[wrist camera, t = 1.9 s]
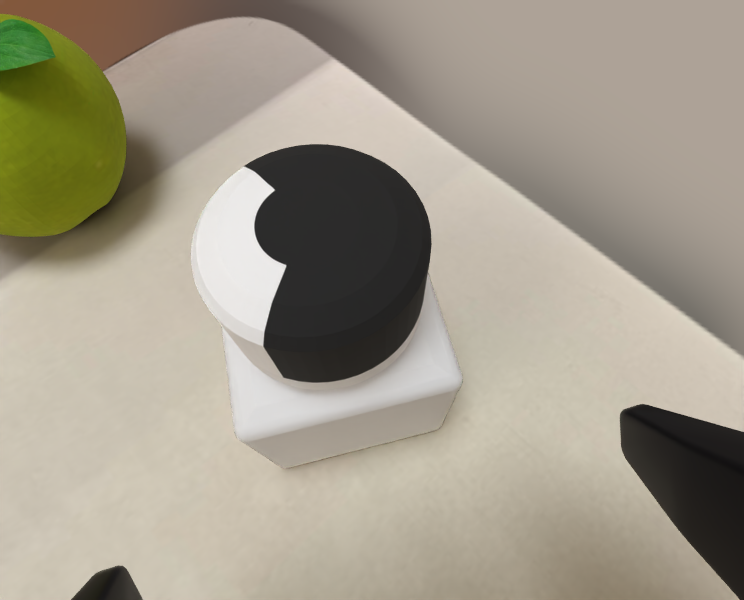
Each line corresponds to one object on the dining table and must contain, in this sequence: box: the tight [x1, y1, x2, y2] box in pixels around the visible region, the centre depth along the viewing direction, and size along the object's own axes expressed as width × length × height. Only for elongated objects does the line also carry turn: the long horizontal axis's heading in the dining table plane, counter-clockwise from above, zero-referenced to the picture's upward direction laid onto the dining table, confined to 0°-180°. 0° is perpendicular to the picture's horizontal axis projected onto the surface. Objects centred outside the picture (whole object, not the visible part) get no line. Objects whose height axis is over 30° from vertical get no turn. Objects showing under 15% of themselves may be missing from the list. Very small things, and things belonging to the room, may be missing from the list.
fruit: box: [0, 14, 126, 237], centre depth 23 cm, size 9×9×10 cm
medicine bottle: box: [191, 144, 463, 468], centre depth 17 cm, size 7×7×12 cm
